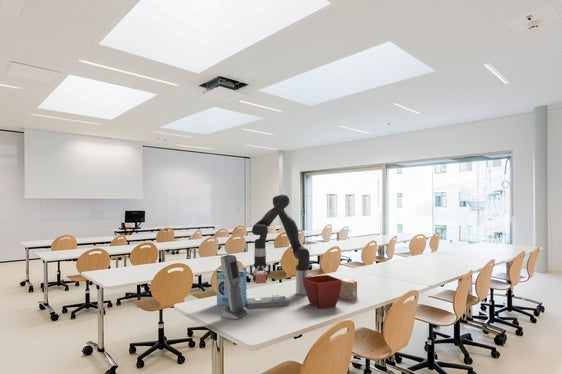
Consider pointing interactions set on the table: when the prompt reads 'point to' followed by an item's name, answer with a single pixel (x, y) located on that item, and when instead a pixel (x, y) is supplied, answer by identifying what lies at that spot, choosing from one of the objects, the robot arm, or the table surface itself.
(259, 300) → the block
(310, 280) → the plant pot
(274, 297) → the block
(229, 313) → the thermal camera
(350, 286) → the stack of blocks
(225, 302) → the gum box
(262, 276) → the cap
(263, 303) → the breaker panel
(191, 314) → the table surface
